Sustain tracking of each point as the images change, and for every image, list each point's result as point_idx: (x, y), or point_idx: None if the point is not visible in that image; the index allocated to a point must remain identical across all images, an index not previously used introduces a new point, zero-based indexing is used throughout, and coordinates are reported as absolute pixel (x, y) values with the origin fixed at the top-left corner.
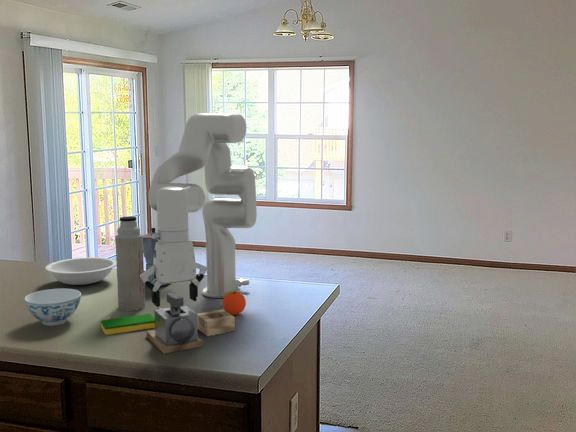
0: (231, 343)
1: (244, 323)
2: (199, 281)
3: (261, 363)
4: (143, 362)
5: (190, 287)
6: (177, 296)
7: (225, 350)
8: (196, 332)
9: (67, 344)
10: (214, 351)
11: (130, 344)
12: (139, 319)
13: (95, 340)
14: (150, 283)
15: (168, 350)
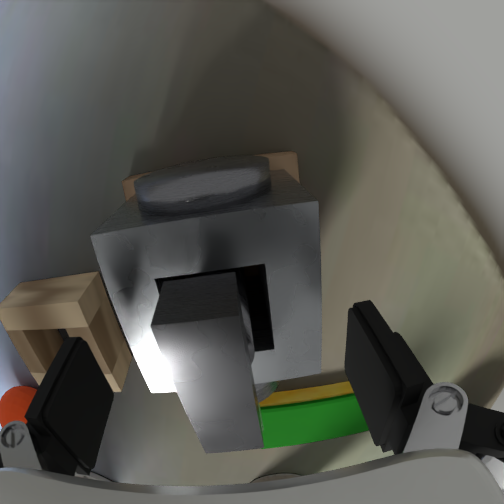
0: (31, 174)
1: (4, 330)
2: (1, 448)
3: None
4: (378, 101)
5: (85, 444)
6: (199, 376)
7: (60, 108)
8: (131, 200)
9: (477, 328)
10: (96, 107)
11: (370, 287)
12: (300, 422)
13: (429, 340)
14: (493, 441)
15: (274, 153)
